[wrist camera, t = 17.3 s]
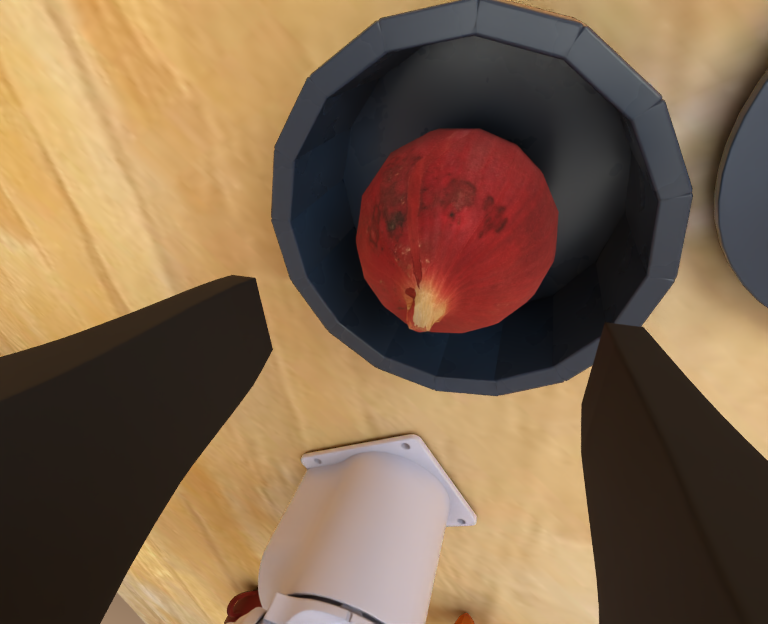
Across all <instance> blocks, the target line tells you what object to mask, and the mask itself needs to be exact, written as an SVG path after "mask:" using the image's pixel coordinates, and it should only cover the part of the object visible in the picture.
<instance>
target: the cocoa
mask: <svg viewBox="0 0 768 624" xmlns="http://www.w3.org/2000/svg"><path fill="white" fill-rule="evenodd" d="M236 602H237V603H236ZM235 603H236V604H235ZM256 607H261V608H263V607H262V605H261V602H260V598H259V592H258V590H254V591H247V592H243V593H240V594H238V595H237V596H235V597H234V598H233V599H232V600H231V601H230V603H229V605H228V608H227V614H228V616H227V618H226V620H225V622H224V624H234V623H235V622H236V621H237V620H238V619H239V618H240V617H242V616H244V615H245V614H247V613H249V612H250V611H251V610H253V609H254V608H256Z"/></svg>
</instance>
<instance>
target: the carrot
mask: <svg viewBox="0 0 768 624" xmlns="http://www.w3.org/2000/svg"><path fill="white" fill-rule="evenodd" d="M454 624H474V621H473V620H472V618H471V616H470V615H469V614H468V613H464V614H463V615H461V616H460V617H459V618H458V619H457V621H456V622H455V623H454Z"/></svg>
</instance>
